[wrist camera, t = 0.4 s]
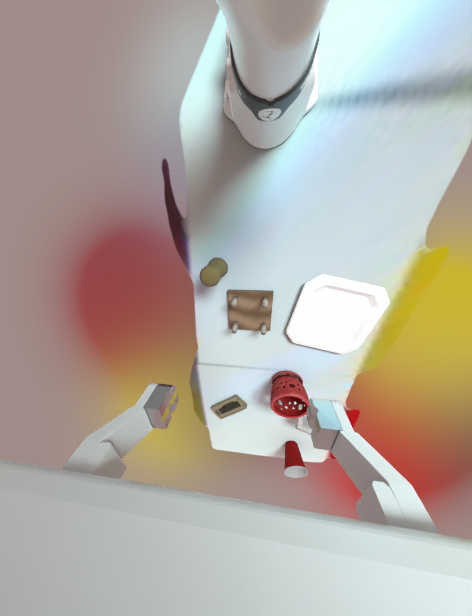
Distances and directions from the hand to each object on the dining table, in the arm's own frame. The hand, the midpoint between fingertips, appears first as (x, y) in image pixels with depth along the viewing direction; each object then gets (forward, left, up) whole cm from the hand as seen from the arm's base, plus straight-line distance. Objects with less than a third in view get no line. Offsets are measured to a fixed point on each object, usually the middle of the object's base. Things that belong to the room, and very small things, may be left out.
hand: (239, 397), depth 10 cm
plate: (+18, +25, -45) cm, 54 cm away
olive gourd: (+3, -11, -44) cm, 46 cm away
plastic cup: (+94, +22, -44) cm, 106 cm away
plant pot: (+48, +14, -44) cm, 67 cm away
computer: (+68, -10, -45) cm, 82 cm away
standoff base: (+17, -1, -44) cm, 47 cm away
